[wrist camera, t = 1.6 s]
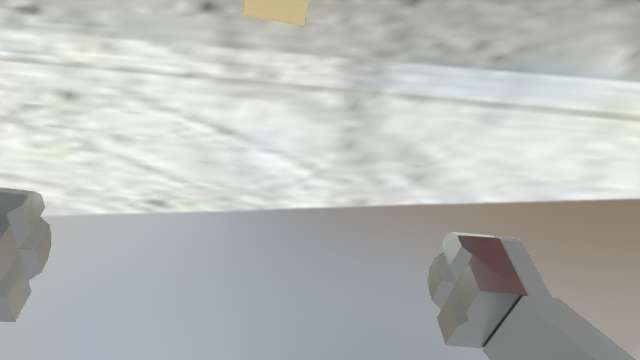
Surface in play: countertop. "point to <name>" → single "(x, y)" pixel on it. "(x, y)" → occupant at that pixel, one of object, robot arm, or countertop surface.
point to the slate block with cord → (277, 10)
